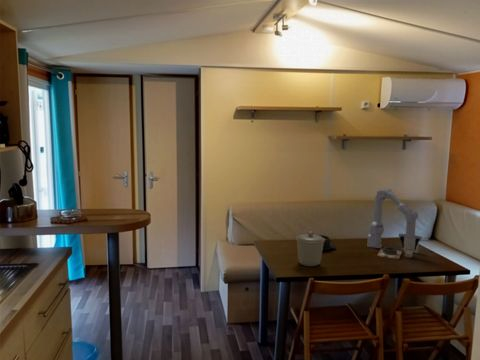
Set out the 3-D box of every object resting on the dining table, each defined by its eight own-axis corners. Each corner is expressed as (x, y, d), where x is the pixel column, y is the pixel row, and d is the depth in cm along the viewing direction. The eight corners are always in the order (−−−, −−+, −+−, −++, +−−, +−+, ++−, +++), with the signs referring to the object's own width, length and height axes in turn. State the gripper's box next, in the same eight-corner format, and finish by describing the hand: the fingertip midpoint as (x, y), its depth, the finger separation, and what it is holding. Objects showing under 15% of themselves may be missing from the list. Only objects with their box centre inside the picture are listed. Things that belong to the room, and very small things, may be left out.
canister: (317, 259, 273) (319, 227, 270) (328, 268, 255) (329, 234, 253) (291, 259, 270) (292, 228, 267) (300, 269, 252) (301, 235, 249)
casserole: (307, 253, 286) (307, 241, 284) (297, 245, 304) (297, 234, 302) (340, 251, 291) (341, 240, 290) (328, 244, 309) (329, 233, 308)
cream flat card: (377, 256, 283) (377, 250, 282) (381, 249, 299) (381, 244, 298) (398, 259, 276) (399, 253, 276) (401, 252, 292) (402, 247, 292)
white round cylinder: (404, 256, 283) (404, 249, 282) (405, 254, 287) (405, 247, 287) (412, 257, 281) (412, 250, 280) (412, 256, 285) (413, 248, 284)
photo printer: (402, 250, 298) (403, 233, 296) (405, 249, 301) (406, 232, 299) (415, 253, 290) (417, 236, 288) (418, 252, 293) (420, 235, 291)
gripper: (398, 228, 281) (397, 248, 283) (421, 231, 275) (420, 251, 276) (399, 226, 288) (398, 245, 289) (422, 229, 281) (421, 248, 283)
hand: (409, 248), depth 283 cm, fingers open, 7 cm apart
